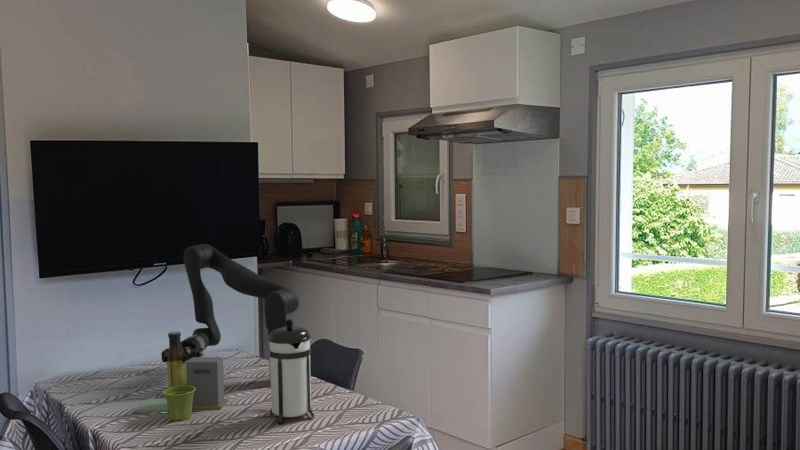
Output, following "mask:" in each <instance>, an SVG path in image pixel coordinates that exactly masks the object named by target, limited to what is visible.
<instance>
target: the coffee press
mask: <svg viewBox="0 0 800 450" xmlns="http://www.w3.org/2000/svg"><path fill="white" fill-rule="evenodd" d="M286 325H287V326H284V327H279V328H276V329H274V330H273V331H272V332H271V334H270V336H269V337H267V340H269V342H270V349H269V348H268V357H269V356H270V373H271V383H270V400H271V403H270V406H271V408H270V409H269V410H268V411H269V414H270V415H271V416H272V415H275V416H277V420H276V423H277V424H278V425H283V424H284V421H285V419H286V418H296V417H301V416H304V417H306V418H307V419H308V420H313V418H315V413H313V411H312V389H311V388H312V386H311V384H312V380H311V378H312V377H311V375H312V374H311V353H312V352H311V349H312V347H311V338H312V335H311V333H310V332H309V330H308V329H307V328H305V327H303V326H298V325H294V321H293V320H292V319H286ZM309 414H310V415H309Z"/></svg>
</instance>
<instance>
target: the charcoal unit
mask: <svg viewBox="0 0 800 450" xmlns="http://www.w3.org/2000/svg"><path fill="white" fill-rule="evenodd" d="M186 372H187V386H193V387H195V388H196V390H195V391H194V395H193V401H192V410H214V411H215V410H222V409H223V408H224V407H225V406H226V405H227V403H228V402H229V398H226V397H225V382H224V381H225V380H224V376H225V375H224V357H223V356H201V357H192V358H191V359H190V360H188V361H186Z"/></svg>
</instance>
